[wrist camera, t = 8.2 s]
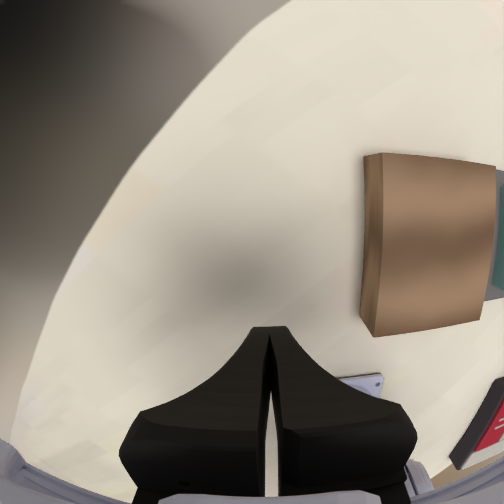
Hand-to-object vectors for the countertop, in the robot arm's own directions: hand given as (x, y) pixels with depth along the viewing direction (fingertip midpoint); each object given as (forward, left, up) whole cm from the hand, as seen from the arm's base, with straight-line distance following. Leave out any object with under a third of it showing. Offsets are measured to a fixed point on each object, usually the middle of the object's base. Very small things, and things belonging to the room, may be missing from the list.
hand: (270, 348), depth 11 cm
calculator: (-24, -32, -11) cm, 41 cm away
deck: (+2, -12, -10) cm, 16 cm away
